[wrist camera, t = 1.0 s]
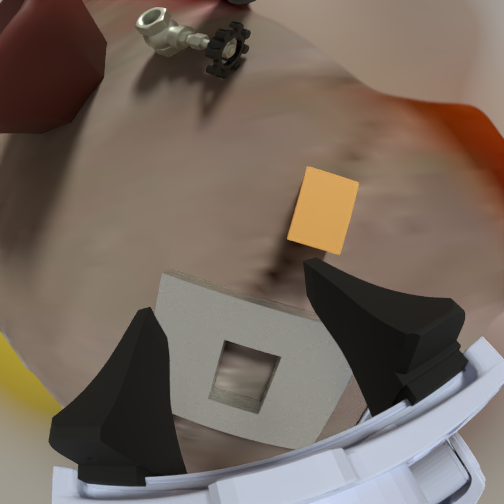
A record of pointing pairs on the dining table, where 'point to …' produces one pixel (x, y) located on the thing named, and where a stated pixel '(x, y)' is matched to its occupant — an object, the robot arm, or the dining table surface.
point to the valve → (193, 40)
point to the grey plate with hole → (256, 337)
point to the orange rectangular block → (323, 210)
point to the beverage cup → (240, 1)
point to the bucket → (46, 63)
